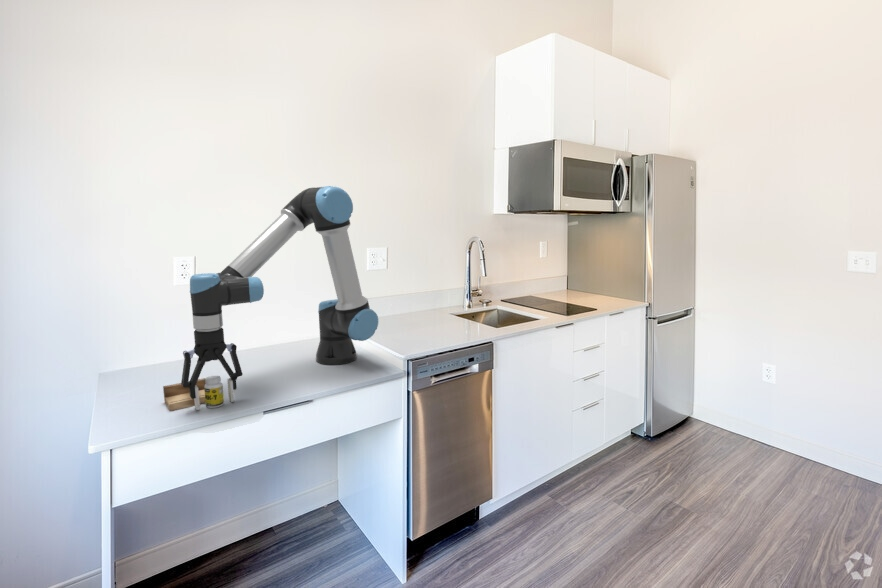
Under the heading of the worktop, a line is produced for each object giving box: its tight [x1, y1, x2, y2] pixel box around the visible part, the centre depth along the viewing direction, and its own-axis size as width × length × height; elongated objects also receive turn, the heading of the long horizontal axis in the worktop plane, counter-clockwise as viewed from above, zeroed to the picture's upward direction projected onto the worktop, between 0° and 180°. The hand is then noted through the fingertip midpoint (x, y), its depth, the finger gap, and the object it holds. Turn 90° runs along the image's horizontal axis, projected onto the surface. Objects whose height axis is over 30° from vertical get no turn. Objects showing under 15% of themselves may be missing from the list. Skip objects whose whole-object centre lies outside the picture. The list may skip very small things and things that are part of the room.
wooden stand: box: [162, 377, 206, 412], centre depth 141 cm, size 14×8×5 cm, turn 129°
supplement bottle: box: [204, 375, 225, 409], centre depth 137 cm, size 5×5×8 cm
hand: (214, 404), depth 138 cm, fingers open, 8 cm apart
